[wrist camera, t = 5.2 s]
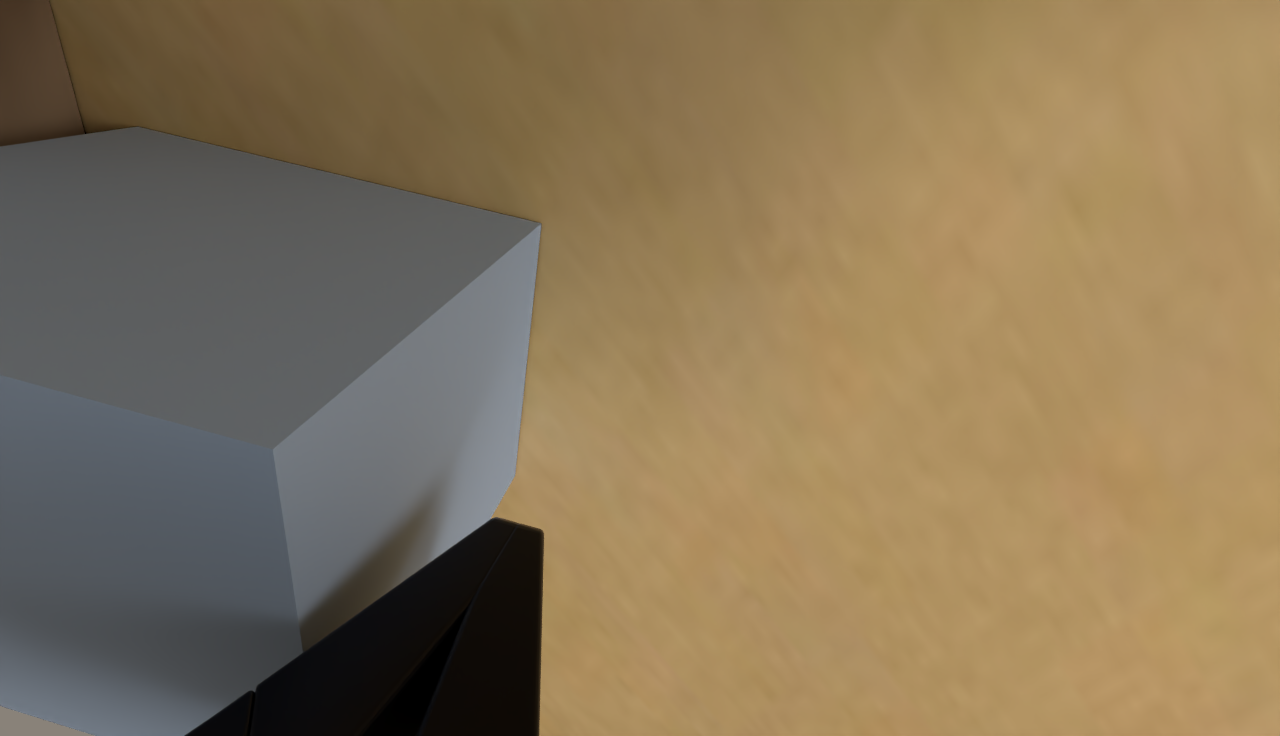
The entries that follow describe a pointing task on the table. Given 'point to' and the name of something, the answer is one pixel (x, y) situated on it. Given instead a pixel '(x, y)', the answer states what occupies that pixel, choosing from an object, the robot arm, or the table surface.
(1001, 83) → the table surface
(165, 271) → the block
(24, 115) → the board
